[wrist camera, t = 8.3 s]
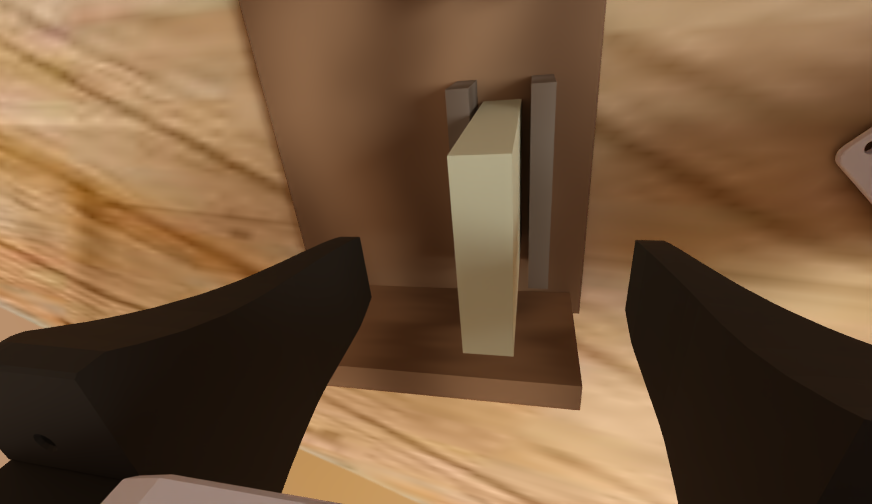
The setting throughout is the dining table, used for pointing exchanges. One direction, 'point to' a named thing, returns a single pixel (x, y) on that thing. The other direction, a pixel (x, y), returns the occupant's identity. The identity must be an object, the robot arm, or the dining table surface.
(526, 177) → the rack
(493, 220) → the beige flat block
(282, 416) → the robot arm
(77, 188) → the dining table surface
